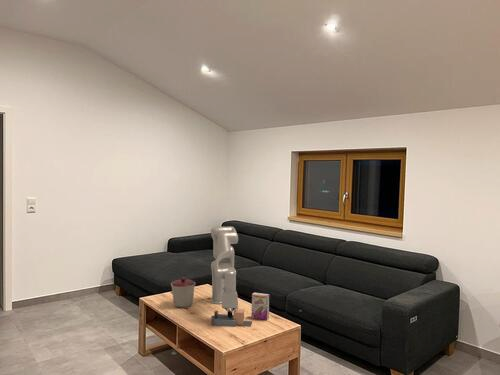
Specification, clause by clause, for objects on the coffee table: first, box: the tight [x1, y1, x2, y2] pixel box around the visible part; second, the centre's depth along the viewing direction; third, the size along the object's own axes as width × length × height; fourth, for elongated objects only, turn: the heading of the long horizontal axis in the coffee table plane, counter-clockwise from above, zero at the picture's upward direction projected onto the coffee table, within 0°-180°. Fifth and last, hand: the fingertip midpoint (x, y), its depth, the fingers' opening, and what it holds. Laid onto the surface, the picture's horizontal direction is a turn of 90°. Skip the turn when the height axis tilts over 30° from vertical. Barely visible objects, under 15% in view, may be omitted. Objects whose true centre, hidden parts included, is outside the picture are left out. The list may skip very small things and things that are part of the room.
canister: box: [170, 276, 196, 308], centre depth 287 cm, size 18×18×21 cm
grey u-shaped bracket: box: [210, 310, 237, 327], centre depth 255 cm, size 11×16×6 cm
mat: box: [238, 320, 253, 328], centre depth 254 cm, size 9×8×1 cm
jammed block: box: [232, 308, 245, 326], centre depth 254 cm, size 6×6×8 cm
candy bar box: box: [251, 292, 270, 321], centre depth 263 cm, size 11×5×16 cm, turn 71°
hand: (230, 317), depth 255 cm, fingers closed
